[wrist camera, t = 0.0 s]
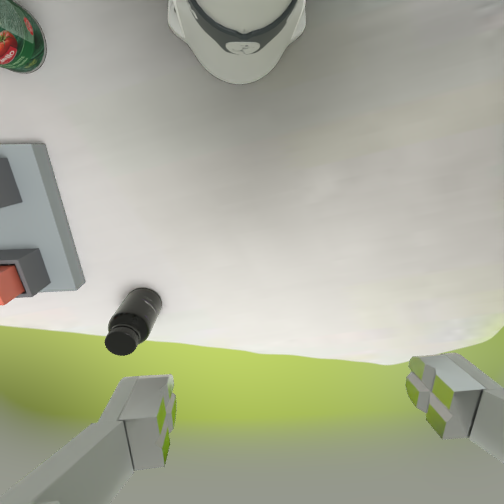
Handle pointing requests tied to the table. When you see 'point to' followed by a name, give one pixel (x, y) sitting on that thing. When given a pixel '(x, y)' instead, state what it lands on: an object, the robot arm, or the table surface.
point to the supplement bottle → (132, 321)
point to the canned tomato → (20, 39)
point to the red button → (9, 284)
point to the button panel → (35, 222)
